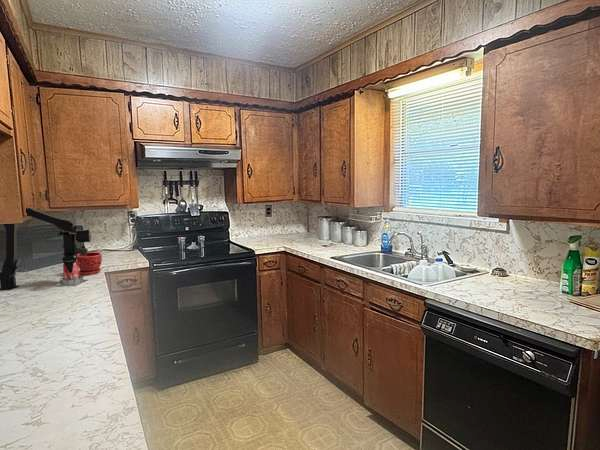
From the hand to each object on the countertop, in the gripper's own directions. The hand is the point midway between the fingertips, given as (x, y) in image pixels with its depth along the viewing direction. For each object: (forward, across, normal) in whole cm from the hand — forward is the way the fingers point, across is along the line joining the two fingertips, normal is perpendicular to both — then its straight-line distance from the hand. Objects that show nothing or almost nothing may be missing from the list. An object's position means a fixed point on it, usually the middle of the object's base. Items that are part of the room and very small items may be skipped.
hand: (71, 271), depth 200 cm
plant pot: (+7, +20, -9) cm, 23 cm away
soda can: (+6, 0, 0) cm, 7 cm away
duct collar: (+7, 0, 0) cm, 7 cm away
